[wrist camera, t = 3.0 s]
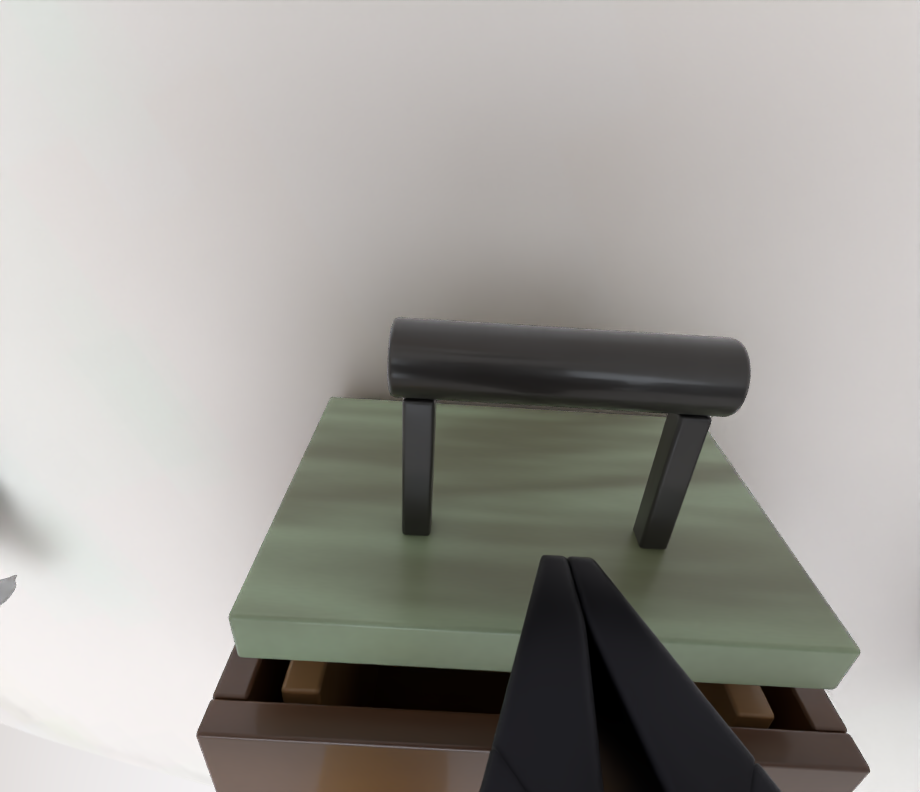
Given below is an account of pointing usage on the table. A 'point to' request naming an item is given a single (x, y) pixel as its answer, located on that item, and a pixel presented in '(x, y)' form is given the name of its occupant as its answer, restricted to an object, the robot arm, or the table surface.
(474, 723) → the cabinet
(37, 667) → the table surface
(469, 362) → the drawer
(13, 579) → the soldier figure
